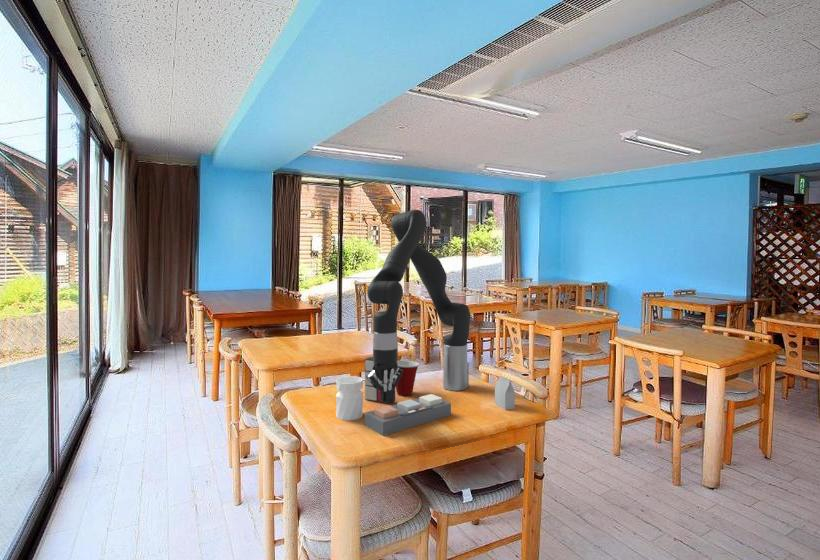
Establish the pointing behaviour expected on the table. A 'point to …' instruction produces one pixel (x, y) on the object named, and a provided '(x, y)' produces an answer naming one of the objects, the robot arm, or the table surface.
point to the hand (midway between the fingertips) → (385, 402)
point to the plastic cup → (406, 377)
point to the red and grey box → (369, 389)
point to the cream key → (430, 400)
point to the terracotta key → (385, 412)
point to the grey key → (408, 405)
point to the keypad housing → (407, 418)
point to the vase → (349, 398)
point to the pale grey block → (504, 394)
